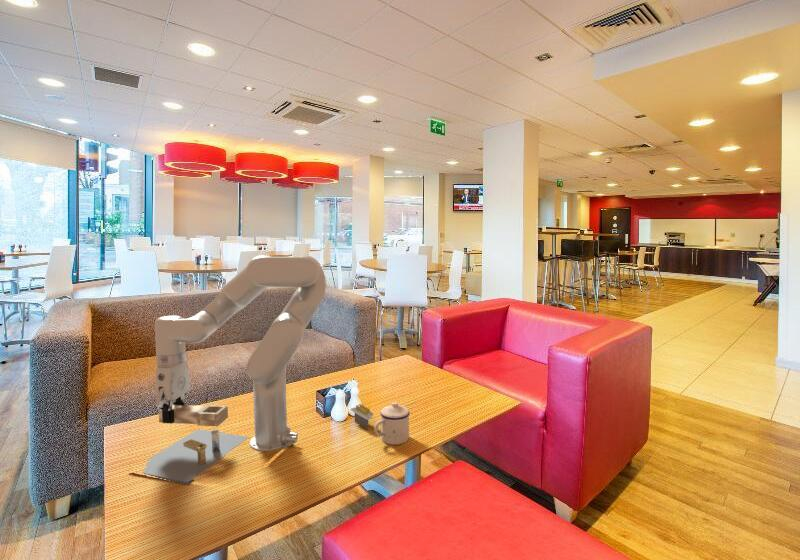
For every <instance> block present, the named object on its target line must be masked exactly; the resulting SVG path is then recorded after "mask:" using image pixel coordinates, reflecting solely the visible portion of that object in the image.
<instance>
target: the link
mask: <svg viewBox="0 0 800 560" xmlns="http://www.w3.org/2000/svg"><path fill="white" fill-rule="evenodd" d="M228 407H229V406H228V405H217V404H216V405H215V404H214V405H213V404H208V405H190V404H189V405H187V404H184V405H172V409H173V410H174V423H173V424H186V425H188V424H189V425H197V426H199V427H204V426H205V427H219V426H220V425H221V424H222V423H224V421H225V420H227V419H228V418H229V412H228V411H229V410H228V409H229V408H228ZM158 422H159V423H162V424H164V423H163V421H162V411H161V409H160V408H159V409H158Z"/></svg>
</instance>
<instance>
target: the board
mask: <svg viewBox="0 0 800 560" xmlns="http://www.w3.org/2000/svg"><path fill="white" fill-rule="evenodd" d="M211 431H212V430H207V429H206V430H205V429H200V428H199V429H195V431H192V432H191V433H189V434H187V435H186V436H184V437H182V438H181V439H179V440H177V441H176V442H174V443H172V444H170V445H169V446H168V447H166V448H164V449H162V450H161V451H159V452H157V453H156V454H154V455H152V456H151V457H152V458H151V457H149V458H150V459H151V460H150V459H149V458H147V459H148V460H149V461H150V462H149V461H148V462H147V465H146V466H147V468H146V466H145V468H146V469H145V468H144V470H145V471H144V470H143V471H144V472H142V473H144V474H148V475H151V476H155V477H158V478H162V479H166V480H170V481H169V482H171V481H175V482H174V483H176V482H178V483H177V484H181V483H182V484H181V485H187V486H189V485H190V484H192V483H193V482H194V481H195V479H194V478H196V477H197V476H198V475H201V473H203V472H204V471H206V469H208V468H209V467H211V466H212V465H214V464H215V463H216V462H217V461H219V460H220V459H222V458H223V457H224V456H226V455H228V453H230V452H231V451H232V450H234V449H236V448H237V447H238V446H239V445H241V444H242V443H244V442H245V441H246V440H248V439H249V438H250V437H249V436H246V435H245V436H244V435H239V434H232V433H225V432H220V431H219V445H220V450H219V451H216V452H213V451H212V435H211ZM190 439H192V440H195V441H198V442H201V443H203V444H206V445H207V448H206V449H205V455H206V463H205V464H203V465H199V464H198V454H197V451H195V450H192V449H190V448H187V447H184V446H183V443H184V442H186V441H188V440H190ZM143 466H144V465H143ZM141 470H142V469H141ZM166 480H165V481H166ZM191 482H192V483H191Z"/></svg>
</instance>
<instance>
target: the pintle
mask: <svg viewBox="0 0 800 560" xmlns="http://www.w3.org/2000/svg"><path fill="white" fill-rule="evenodd" d="M210 431H211V435H212V451H213V452H216V451H219V450H220V445H219V432H220V430H219V429H213V430H210Z"/></svg>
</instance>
